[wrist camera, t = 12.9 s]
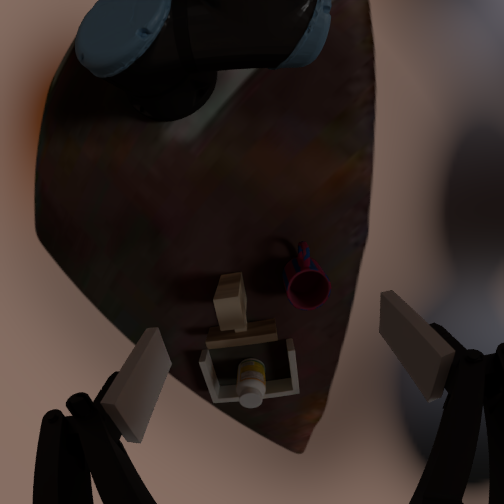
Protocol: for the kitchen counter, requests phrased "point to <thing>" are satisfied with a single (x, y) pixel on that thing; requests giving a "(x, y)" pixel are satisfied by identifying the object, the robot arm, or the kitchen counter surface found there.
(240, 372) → the supplement bottle
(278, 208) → the kitchen counter surface
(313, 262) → the mug
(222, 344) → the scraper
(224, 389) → the corral
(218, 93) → the kitchen counter surface
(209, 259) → the kitchen counter surface
